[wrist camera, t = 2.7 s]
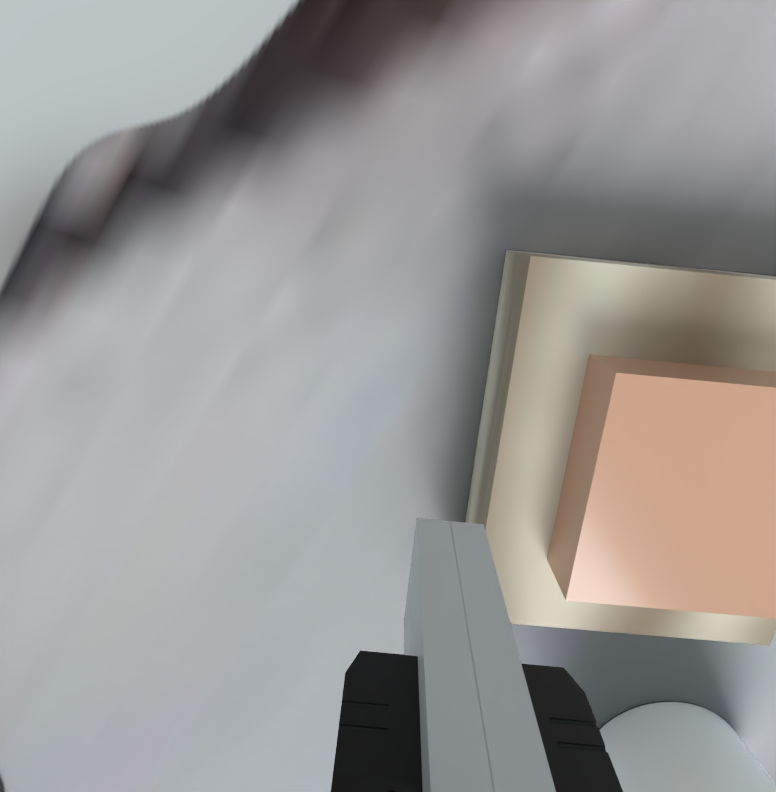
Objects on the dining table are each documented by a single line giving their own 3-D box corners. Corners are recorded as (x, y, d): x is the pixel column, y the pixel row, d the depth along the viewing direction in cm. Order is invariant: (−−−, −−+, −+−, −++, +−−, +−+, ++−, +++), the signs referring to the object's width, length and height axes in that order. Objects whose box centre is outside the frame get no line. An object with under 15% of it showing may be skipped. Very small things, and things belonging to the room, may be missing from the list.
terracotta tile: (546, 560, 21) (565, 600, 19) (589, 354, 19) (616, 372, 17) (754, 577, 21) (797, 620, 19) (821, 376, 19) (880, 397, 17)
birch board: (459, 561, 26) (470, 620, 22) (506, 250, 22) (530, 255, 18) (714, 583, 26) (769, 645, 22) (809, 279, 22) (897, 291, 18)
